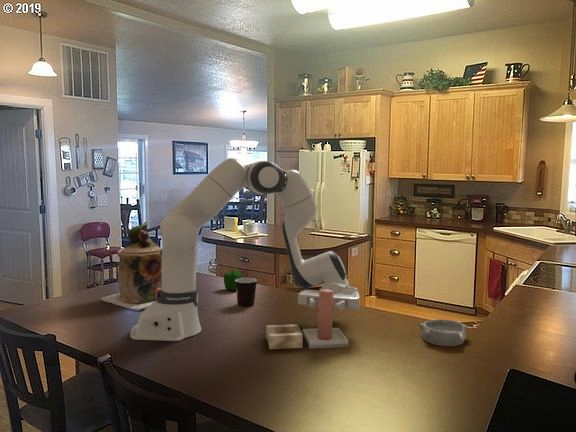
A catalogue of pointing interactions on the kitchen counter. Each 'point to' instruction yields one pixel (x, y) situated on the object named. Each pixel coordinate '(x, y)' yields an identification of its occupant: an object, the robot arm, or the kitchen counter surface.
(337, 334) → the tray
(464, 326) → the dish
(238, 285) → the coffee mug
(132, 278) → the cookie jar
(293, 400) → the kitchen counter surface
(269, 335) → the socket block
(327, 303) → the dowel
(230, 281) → the bell pepper
